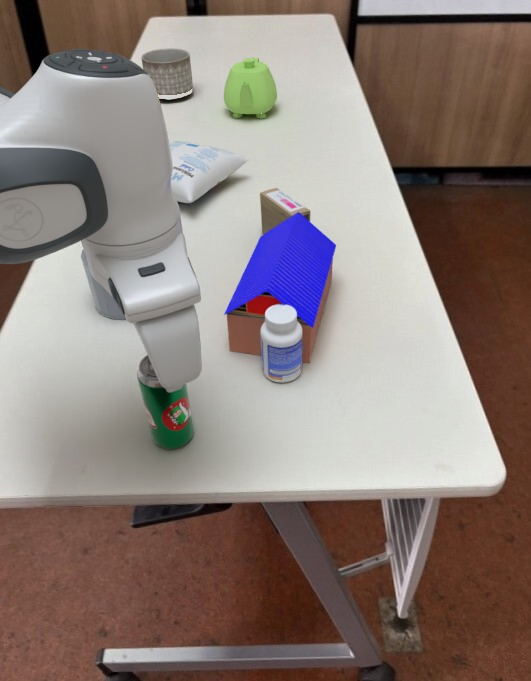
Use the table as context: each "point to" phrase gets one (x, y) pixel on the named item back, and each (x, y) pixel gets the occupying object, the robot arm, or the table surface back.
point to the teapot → (250, 89)
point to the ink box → (278, 208)
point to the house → (282, 284)
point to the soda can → (165, 409)
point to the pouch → (200, 169)
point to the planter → (169, 70)
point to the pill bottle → (281, 344)
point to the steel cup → (101, 295)
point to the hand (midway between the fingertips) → (159, 357)
